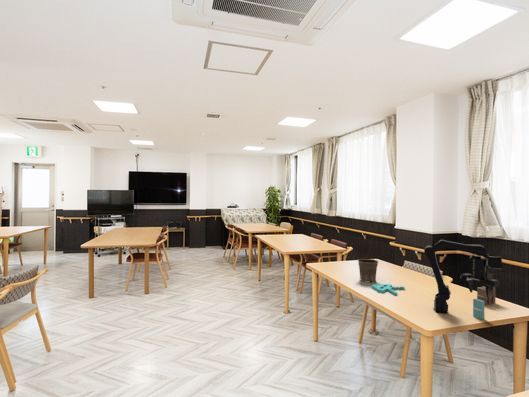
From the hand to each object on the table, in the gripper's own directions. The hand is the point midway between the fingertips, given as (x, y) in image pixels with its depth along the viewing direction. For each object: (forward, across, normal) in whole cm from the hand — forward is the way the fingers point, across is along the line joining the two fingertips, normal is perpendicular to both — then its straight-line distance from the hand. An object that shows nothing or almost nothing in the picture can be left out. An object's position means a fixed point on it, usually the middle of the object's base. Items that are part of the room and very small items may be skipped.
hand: (479, 294), depth 179 cm
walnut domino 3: (+13, +14, -33) cm, 38 cm away
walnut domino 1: (+13, +15, -25) cm, 32 cm away
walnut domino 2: (+13, +14, -29) cm, 35 cm away
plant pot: (+13, +89, +3) cm, 90 cm away
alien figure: (+14, +62, +8) cm, 64 cm away
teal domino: (+13, 0, +1) cm, 13 cm away
